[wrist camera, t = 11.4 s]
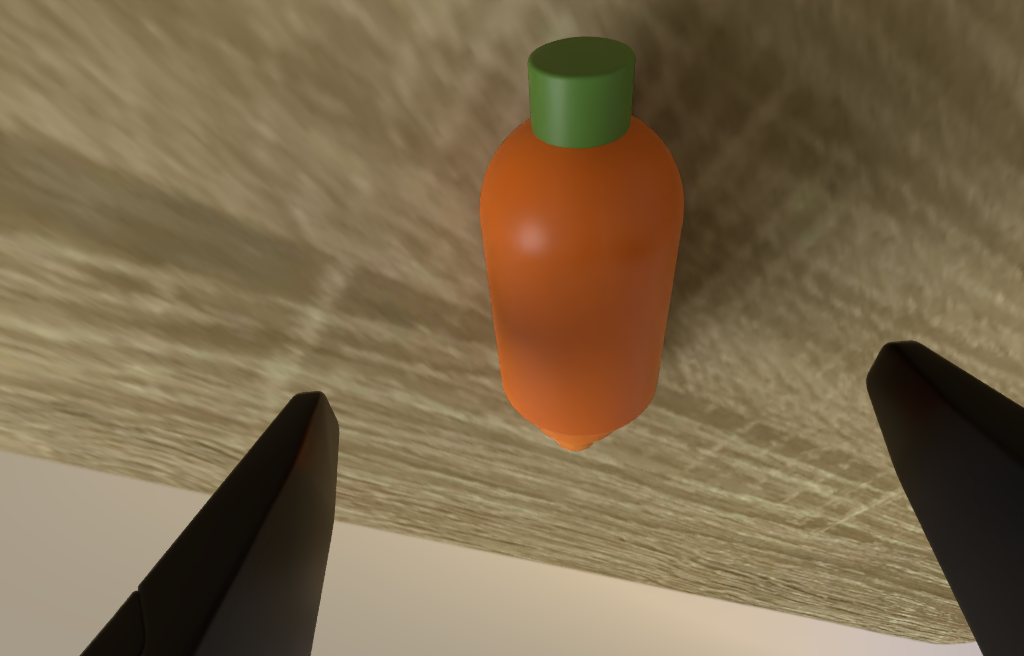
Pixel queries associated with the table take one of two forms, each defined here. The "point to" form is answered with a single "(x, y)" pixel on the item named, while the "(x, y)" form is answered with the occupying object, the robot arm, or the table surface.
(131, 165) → the table surface
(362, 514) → the table surface
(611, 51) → the carrot
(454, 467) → the table surface
